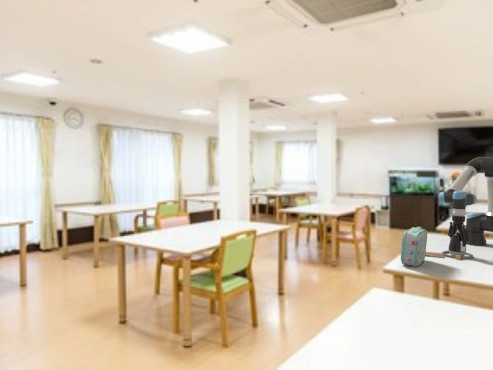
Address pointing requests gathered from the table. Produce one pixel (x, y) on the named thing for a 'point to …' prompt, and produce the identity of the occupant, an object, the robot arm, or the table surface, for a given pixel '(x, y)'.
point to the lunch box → (414, 246)
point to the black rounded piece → (456, 245)
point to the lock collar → (457, 255)
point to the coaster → (434, 254)
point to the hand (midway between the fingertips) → (457, 249)
